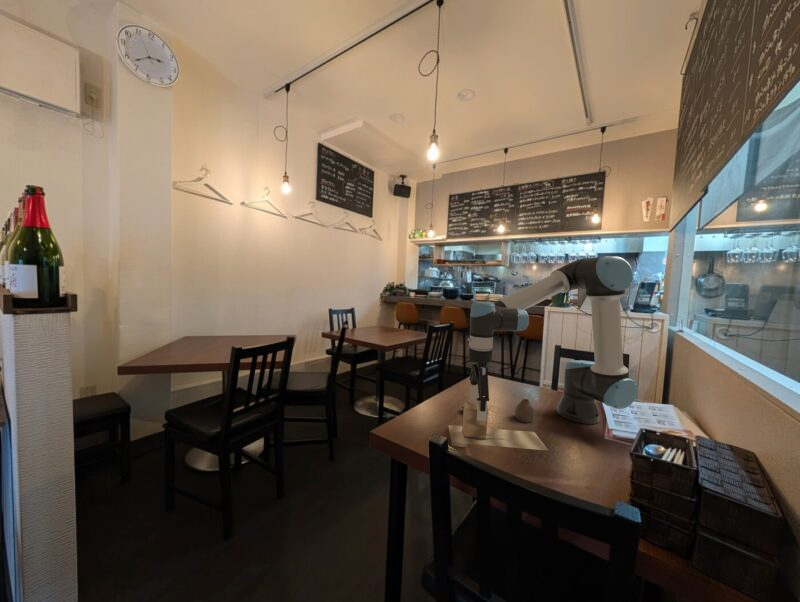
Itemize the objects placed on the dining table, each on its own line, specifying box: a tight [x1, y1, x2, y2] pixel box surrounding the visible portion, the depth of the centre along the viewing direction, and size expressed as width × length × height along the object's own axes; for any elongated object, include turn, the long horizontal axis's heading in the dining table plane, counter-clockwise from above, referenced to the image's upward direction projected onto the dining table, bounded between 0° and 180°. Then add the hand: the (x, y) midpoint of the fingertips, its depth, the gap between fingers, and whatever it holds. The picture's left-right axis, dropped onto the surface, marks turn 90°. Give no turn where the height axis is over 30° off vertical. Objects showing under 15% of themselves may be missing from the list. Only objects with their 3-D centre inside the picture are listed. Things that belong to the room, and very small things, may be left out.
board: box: [448, 424, 549, 451], centre depth 104 cm, size 30×12×1 cm, turn 87°
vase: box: [514, 398, 535, 424], centre depth 119 cm, size 7×7×9 cm
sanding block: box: [461, 402, 489, 440], centre depth 104 cm, size 7×5×10 cm
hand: (477, 411), depth 103 cm, fingers open, 13 cm apart
